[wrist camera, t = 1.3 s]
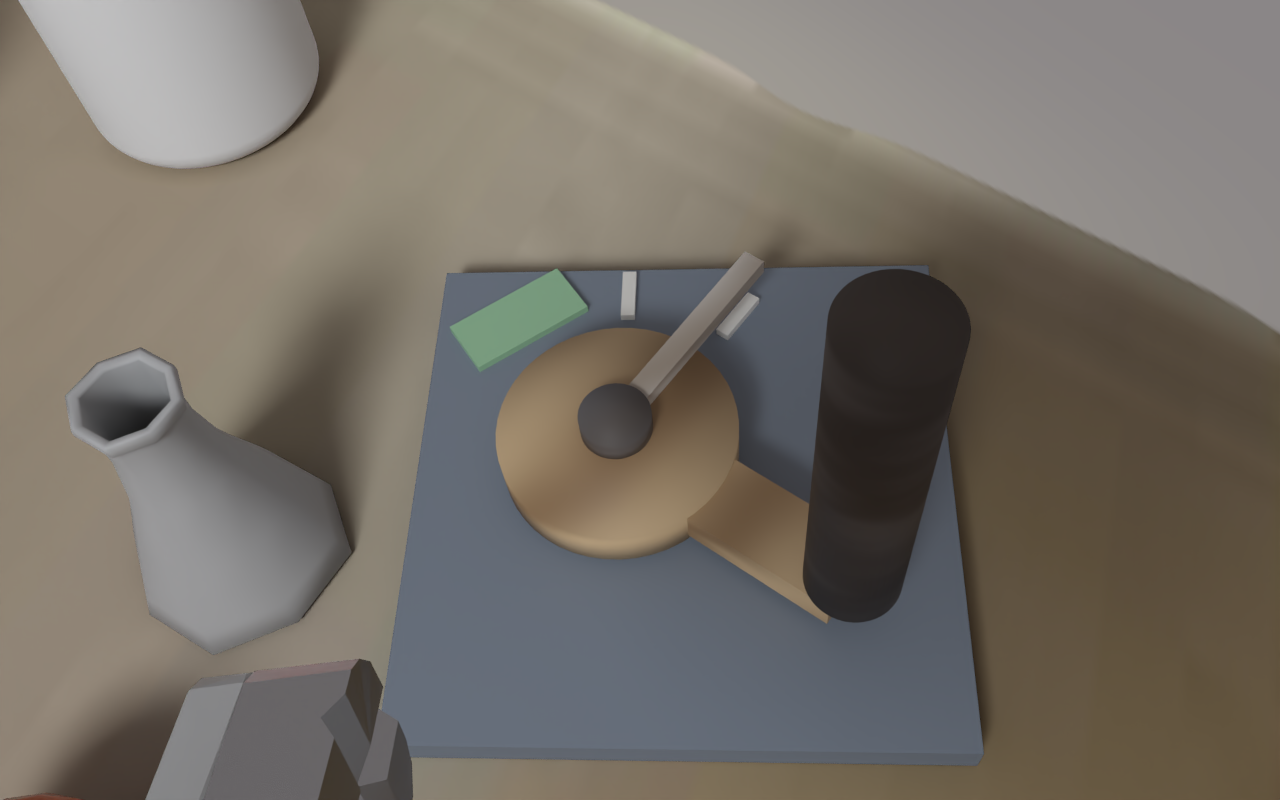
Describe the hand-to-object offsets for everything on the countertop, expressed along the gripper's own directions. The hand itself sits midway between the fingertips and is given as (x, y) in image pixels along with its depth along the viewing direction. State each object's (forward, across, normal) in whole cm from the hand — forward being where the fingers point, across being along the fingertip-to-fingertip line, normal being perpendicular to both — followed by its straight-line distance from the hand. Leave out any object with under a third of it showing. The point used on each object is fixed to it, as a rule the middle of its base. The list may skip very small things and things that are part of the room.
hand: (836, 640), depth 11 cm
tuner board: (+25, +4, +19) cm, 32 cm away
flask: (+24, +19, +18) cm, 35 cm away
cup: (+45, +22, +8) cm, 51 cm away
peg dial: (+25, +2, +17) cm, 31 cm away
